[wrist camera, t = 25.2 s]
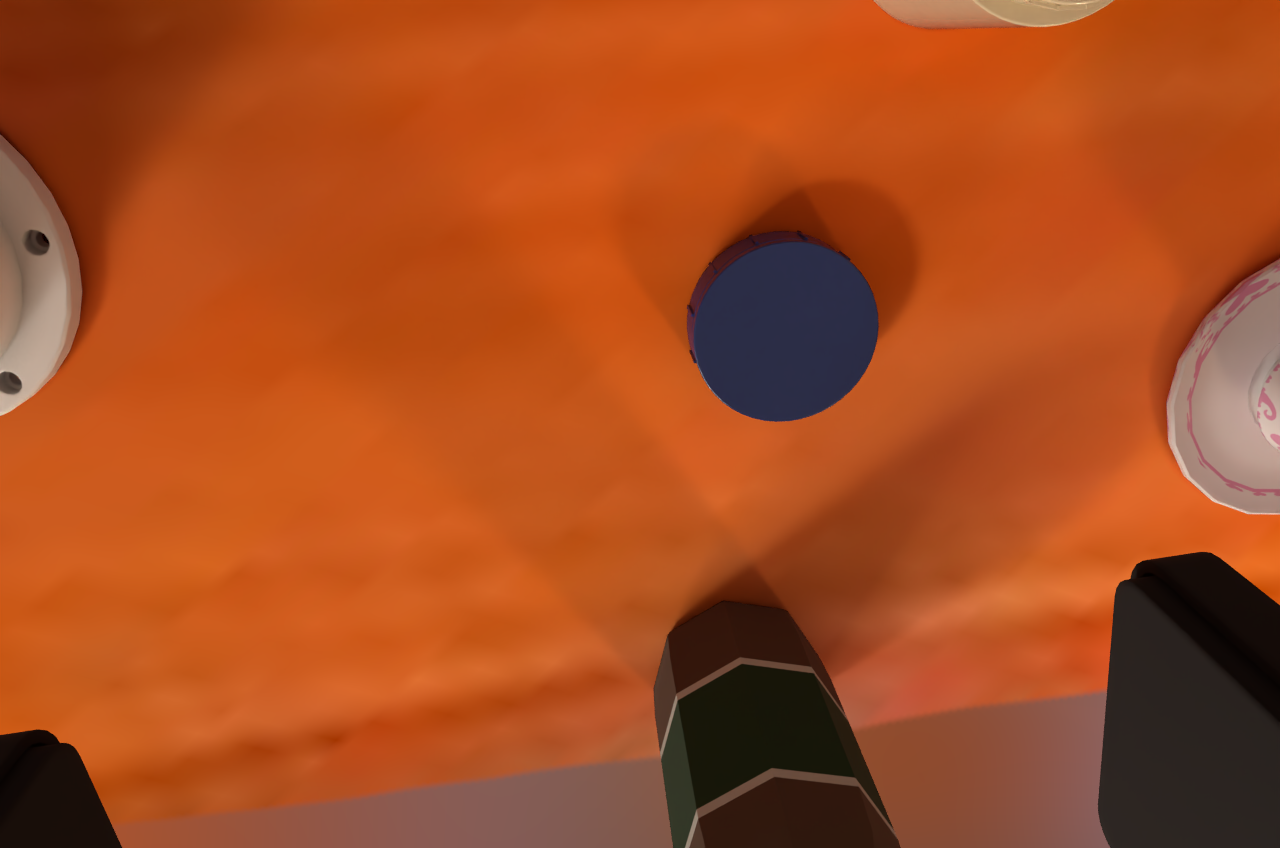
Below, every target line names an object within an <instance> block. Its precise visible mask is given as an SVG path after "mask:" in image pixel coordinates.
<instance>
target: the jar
mask: <svg viewBox="0 0 1280 848" xmlns="http://www.w3.org/2000/svg"><path fill="white" fill-rule="evenodd" d="M874 1H875V3H876V4H877V5H878V6H880V7H881V8H882V9H883V10H884V11H885V12H886V13H888V14H889V15H891V16H892V17H893V18H895V19H897V20H899V21H901V22H903V23H905V24H908V25H911V26H914V27H919V28H925V29H970V28H1021V27H1049V26H1057V25H1063V24H1066V23H1070V22H1074V21H1077V20H1079V19H1082V18H1084V17H1087V16H1089V15H1091V14H1093V13H1095V12H1097V11H1098V10H1100V9H1102V8H1104V7H1105V6H1107V5H1108V4H1110V3H1111V2H1112V1H1114V0H874Z"/></svg>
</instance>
